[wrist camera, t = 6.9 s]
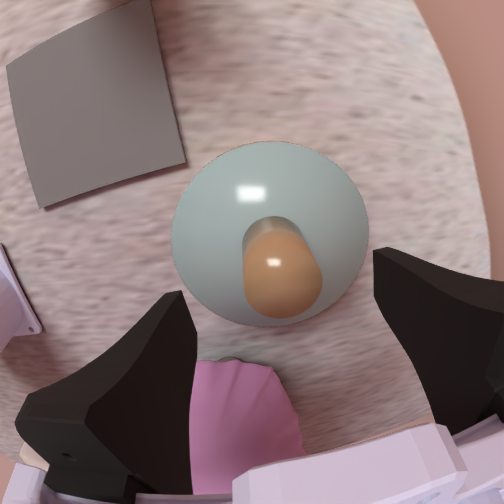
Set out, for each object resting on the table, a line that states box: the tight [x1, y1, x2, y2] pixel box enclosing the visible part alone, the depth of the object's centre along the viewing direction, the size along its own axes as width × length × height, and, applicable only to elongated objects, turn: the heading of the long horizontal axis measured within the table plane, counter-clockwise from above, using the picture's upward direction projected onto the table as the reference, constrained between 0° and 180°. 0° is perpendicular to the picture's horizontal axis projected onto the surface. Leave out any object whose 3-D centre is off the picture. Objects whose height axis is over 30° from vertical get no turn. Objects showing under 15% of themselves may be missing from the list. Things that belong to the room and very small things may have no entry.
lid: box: [171, 141, 369, 327], centre depth 13 cm, size 9×9×4 cm
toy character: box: [189, 357, 308, 495], centre depth 15 cm, size 12×10×20 cm
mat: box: [6, 0, 187, 209], centre depth 15 cm, size 10×10×1 cm
